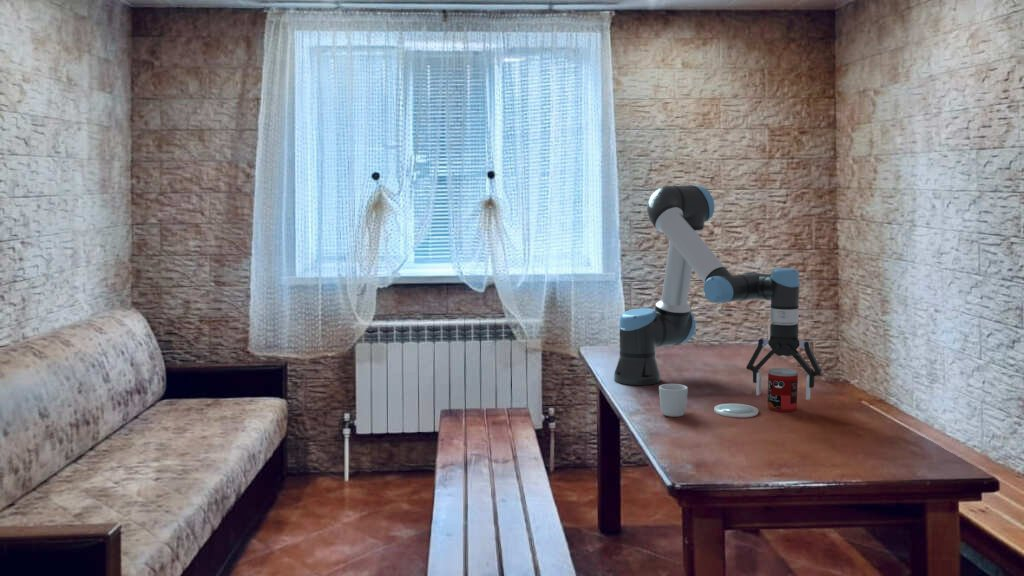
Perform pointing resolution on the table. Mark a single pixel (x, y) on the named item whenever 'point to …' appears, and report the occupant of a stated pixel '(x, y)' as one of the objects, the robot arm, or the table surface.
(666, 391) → the cup
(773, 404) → the canned food
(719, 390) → the table surface
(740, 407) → the plate
